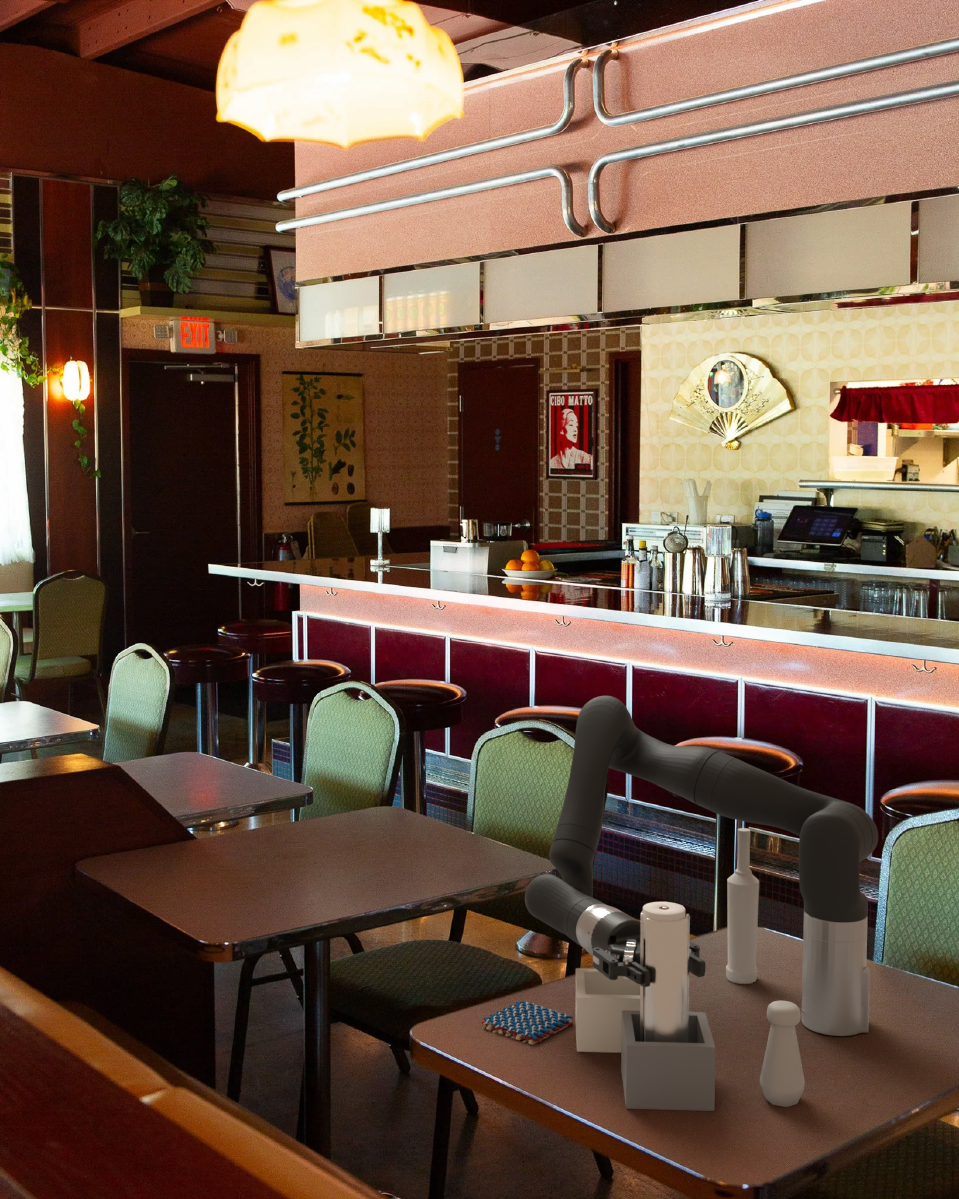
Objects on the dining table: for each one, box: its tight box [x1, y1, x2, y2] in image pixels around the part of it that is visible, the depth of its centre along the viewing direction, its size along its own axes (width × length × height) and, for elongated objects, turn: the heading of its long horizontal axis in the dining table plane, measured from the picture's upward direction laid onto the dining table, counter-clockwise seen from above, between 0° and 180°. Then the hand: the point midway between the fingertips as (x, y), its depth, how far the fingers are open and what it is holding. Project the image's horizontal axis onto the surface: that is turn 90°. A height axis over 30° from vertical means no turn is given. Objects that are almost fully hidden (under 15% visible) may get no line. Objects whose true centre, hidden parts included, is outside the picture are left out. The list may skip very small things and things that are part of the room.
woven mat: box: [481, 1000, 574, 1046], centre depth 195 cm, size 10×11×2 cm
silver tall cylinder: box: [639, 901, 691, 1043], centre depth 174 cm, size 6×6×25 cm
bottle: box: [725, 827, 760, 985], centre depth 213 cm, size 5×5×25 cm
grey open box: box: [620, 1010, 716, 1112], centre depth 174 cm, size 11×11×8 cm
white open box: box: [574, 967, 640, 1054], centre depth 191 cm, size 11×11×8 cm
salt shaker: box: [759, 1000, 806, 1108], centre depth 171 cm, size 6×6×13 cm
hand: (675, 974), depth 171 cm, fingers open, 8 cm apart
